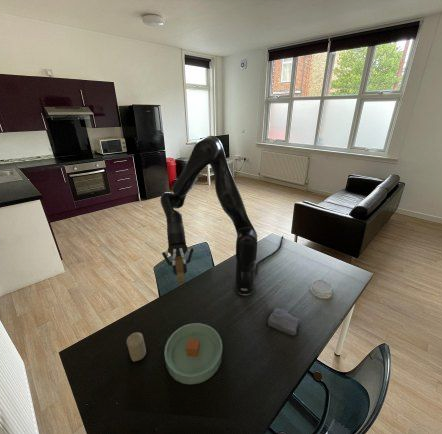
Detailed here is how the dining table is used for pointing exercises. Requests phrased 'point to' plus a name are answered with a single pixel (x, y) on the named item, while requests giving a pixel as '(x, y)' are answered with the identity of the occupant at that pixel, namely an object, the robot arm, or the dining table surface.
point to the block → (193, 347)
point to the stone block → (284, 321)
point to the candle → (136, 346)
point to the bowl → (191, 365)
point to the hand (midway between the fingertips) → (180, 274)
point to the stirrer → (179, 269)
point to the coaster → (321, 289)
